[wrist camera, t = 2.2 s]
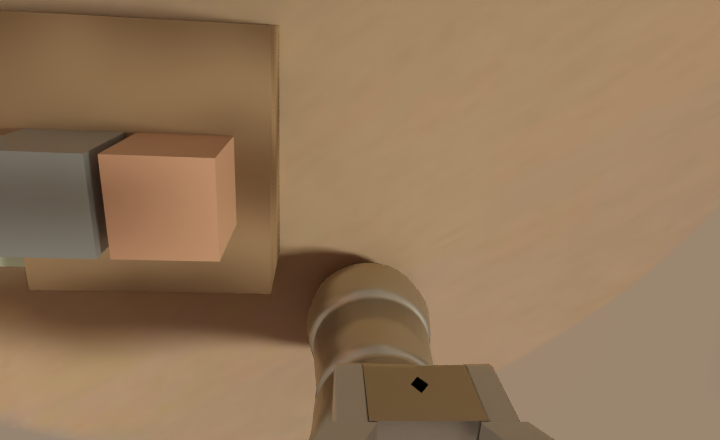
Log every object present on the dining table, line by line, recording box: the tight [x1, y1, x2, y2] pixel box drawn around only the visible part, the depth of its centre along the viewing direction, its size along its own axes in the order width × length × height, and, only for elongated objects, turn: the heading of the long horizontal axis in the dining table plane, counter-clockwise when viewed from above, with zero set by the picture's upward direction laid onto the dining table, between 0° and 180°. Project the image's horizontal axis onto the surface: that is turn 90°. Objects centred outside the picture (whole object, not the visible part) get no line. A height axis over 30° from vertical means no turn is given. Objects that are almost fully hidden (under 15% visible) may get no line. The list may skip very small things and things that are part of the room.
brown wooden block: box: [0, 10, 279, 294], centre depth 25 cm, size 12×11×5 cm
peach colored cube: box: [98, 132, 237, 262], centre depth 21 cm, size 4×4×4 cm
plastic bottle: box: [307, 263, 433, 440], centre depth 22 cm, size 6×7×20 cm
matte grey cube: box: [0, 128, 125, 259], centre depth 20 cm, size 4×4×4 cm
